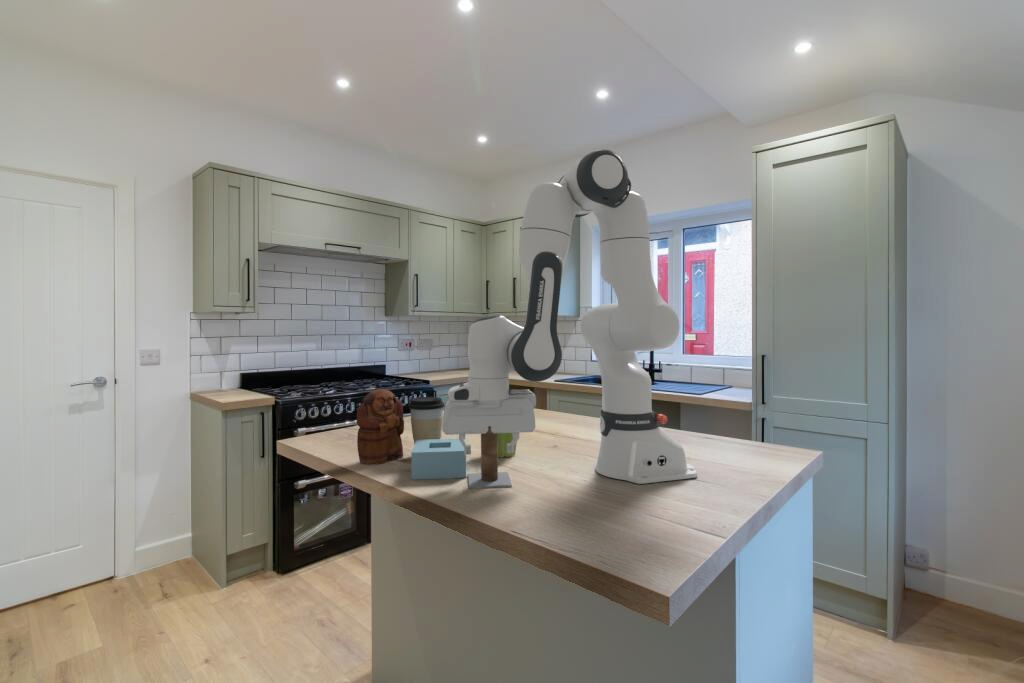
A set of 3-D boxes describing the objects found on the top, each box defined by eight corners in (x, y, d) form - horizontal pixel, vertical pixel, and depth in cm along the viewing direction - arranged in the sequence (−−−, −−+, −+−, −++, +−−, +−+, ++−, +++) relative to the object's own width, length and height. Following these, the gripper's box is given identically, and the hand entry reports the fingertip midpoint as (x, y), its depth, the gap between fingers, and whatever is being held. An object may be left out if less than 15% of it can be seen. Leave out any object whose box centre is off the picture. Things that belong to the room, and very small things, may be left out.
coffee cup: (442, 461, 121) (441, 401, 121) (404, 461, 121) (403, 401, 121) (447, 451, 131) (447, 396, 130) (412, 451, 131) (412, 396, 130)
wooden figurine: (370, 467, 116) (369, 393, 116) (355, 463, 120) (353, 391, 120) (409, 456, 126) (408, 387, 125) (393, 452, 130) (392, 386, 129)
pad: (507, 473, 111) (507, 472, 111) (511, 486, 102) (511, 484, 102) (468, 475, 110) (468, 473, 110) (468, 488, 101) (468, 486, 101)
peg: (497, 476, 108) (496, 422, 107) (498, 481, 104) (497, 426, 104) (481, 476, 107) (480, 423, 107) (481, 482, 104) (481, 426, 103)
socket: (465, 462, 120) (465, 438, 120) (466, 477, 108) (465, 450, 108) (416, 464, 119) (416, 439, 119) (411, 479, 107) (411, 452, 107)
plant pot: (500, 448, 134) (500, 417, 133) (528, 453, 128) (528, 421, 128) (478, 455, 126) (478, 422, 126) (507, 461, 121) (507, 427, 120)
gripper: (533, 387, 109) (534, 447, 110) (442, 389, 107) (443, 451, 108) (538, 391, 103) (538, 455, 104) (441, 393, 101) (442, 458, 101)
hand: (489, 453), depth 106 cm, fingers open, 8 cm apart
